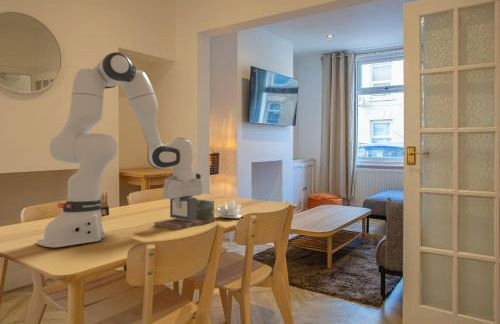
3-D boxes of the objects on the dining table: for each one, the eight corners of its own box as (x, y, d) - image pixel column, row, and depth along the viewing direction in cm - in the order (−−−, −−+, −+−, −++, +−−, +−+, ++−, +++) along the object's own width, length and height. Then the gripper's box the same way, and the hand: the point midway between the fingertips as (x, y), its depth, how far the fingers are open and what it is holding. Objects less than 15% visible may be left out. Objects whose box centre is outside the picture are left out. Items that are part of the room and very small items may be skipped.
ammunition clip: (90, 220, 168) (89, 194, 168) (87, 219, 169) (87, 193, 169) (109, 216, 178) (109, 192, 178) (106, 216, 179) (106, 192, 178)
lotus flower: (244, 220, 167) (244, 201, 167) (212, 220, 168) (212, 201, 167) (246, 215, 181) (246, 198, 181) (216, 215, 182) (216, 198, 182)
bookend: (177, 229, 146) (177, 206, 146) (154, 225, 154) (154, 203, 154) (214, 221, 164) (214, 200, 163) (191, 218, 172) (191, 198, 172)
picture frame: (189, 220, 153) (189, 198, 153) (170, 217, 160) (170, 196, 160) (196, 218, 156) (196, 197, 156) (177, 215, 163) (177, 195, 163)
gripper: (169, 176, 147) (169, 211, 148) (204, 174, 164) (204, 205, 164) (159, 176, 151) (159, 209, 151) (194, 174, 168) (194, 204, 168)
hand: (183, 207), depth 158 cm, fingers closed on picture frame, 4 cm apart
